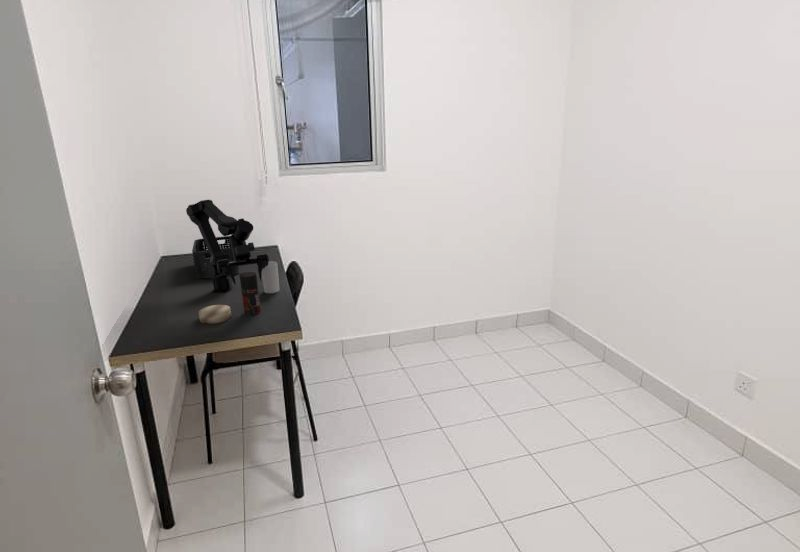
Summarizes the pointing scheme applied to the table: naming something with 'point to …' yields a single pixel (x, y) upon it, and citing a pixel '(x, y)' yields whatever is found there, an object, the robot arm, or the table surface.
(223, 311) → the beige round flatbread
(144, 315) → the table surface
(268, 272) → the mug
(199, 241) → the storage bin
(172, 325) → the table surface
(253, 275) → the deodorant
